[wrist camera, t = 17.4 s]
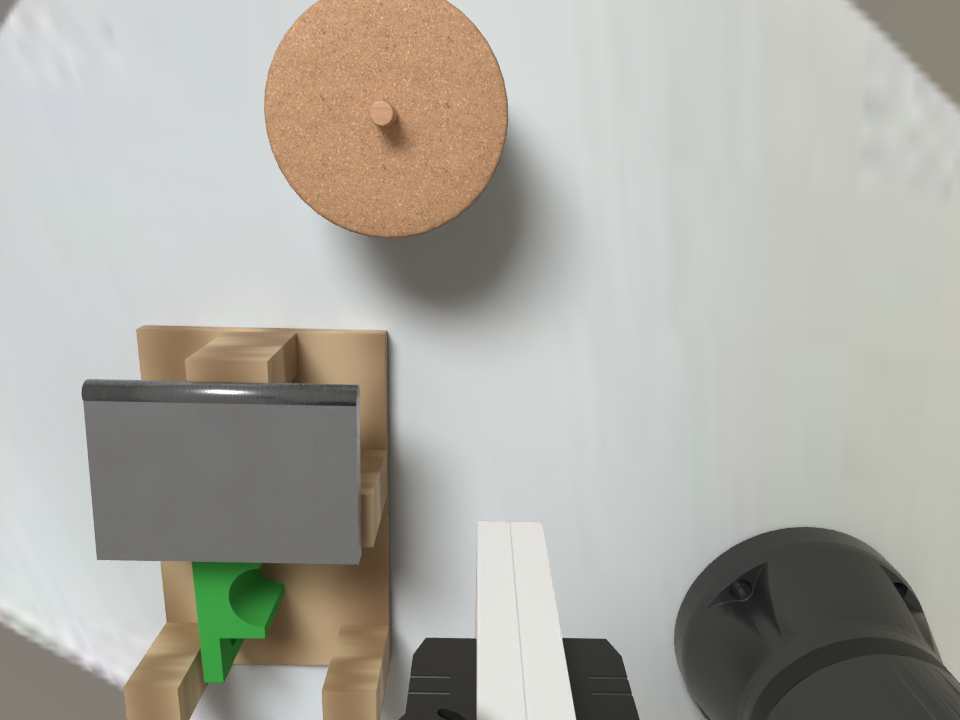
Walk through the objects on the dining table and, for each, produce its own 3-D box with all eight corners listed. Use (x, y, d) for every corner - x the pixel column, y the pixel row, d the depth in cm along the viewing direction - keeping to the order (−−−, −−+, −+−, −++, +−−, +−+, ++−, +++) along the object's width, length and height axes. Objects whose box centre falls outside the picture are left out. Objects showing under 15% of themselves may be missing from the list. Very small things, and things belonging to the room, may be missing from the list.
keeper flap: (360, 382, 36) (356, 388, 35) (361, 554, 38) (357, 565, 37) (93, 376, 36) (80, 382, 35) (107, 549, 38) (96, 560, 37)
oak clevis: (386, 330, 43) (369, 363, 36) (390, 656, 49) (376, 737, 42) (143, 325, 43) (81, 357, 36) (177, 652, 49) (128, 732, 42)
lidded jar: (498, 226, 41) (504, 246, 32) (306, 220, 41) (258, 238, 32) (506, 17, 39) (515, -25, 30) (299, 10, 38) (245, -34, 29)
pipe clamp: (288, 633, 47) (268, 684, 43) (229, 633, 47) (204, 683, 43) (276, 472, 44) (254, 508, 40) (213, 471, 44) (184, 507, 40)
